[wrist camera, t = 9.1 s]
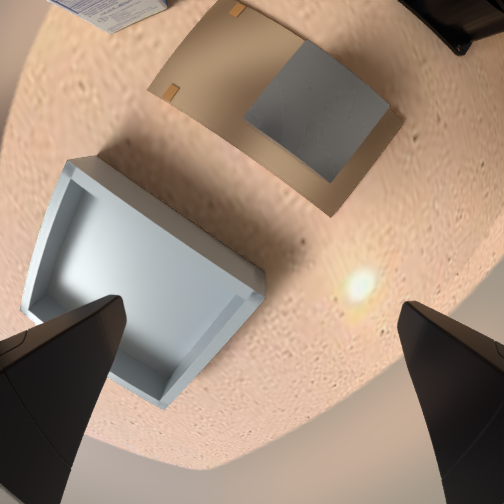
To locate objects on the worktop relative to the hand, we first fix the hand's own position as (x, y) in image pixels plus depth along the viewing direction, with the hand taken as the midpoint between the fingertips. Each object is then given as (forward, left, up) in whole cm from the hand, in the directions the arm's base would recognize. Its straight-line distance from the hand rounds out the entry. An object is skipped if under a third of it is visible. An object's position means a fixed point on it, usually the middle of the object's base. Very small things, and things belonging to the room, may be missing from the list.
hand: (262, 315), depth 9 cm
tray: (+5, +9, -11) cm, 15 cm away
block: (+2, -7, -11) cm, 13 cm away
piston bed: (+4, -7, -11) cm, 13 cm away
